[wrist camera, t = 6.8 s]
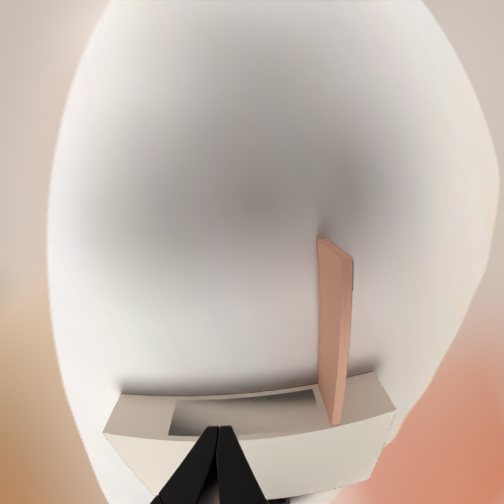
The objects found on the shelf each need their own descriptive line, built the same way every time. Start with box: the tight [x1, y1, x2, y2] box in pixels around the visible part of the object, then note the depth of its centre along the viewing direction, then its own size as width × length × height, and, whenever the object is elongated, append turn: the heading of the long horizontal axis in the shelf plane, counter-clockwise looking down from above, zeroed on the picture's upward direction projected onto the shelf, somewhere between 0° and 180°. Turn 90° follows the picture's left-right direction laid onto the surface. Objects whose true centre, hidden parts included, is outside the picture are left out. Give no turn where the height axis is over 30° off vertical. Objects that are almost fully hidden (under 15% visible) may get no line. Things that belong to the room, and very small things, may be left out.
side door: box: [317, 238, 353, 426], centre depth 16 cm, size 1×12×4 cm, turn 6°
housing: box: [102, 372, 396, 500], centre depth 19 cm, size 12×22×5 cm, turn 96°
